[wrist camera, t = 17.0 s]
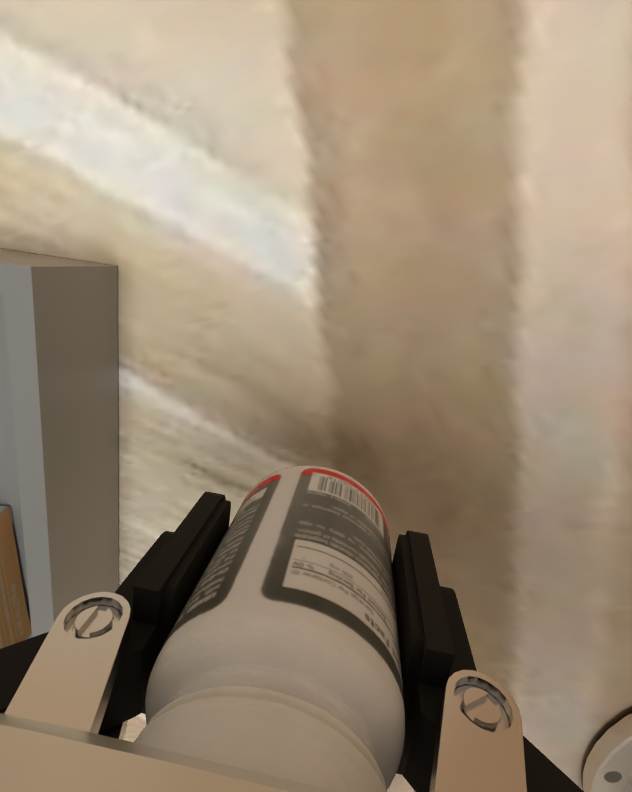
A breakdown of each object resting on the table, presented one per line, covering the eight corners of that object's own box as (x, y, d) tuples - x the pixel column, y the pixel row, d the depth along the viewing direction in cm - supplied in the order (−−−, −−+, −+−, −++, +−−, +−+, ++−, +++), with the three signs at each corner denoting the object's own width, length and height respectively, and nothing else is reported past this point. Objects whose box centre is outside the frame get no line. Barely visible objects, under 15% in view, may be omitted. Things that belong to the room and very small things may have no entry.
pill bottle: (263, 602, 14) (127, 1017, 6) (221, 476, 13) (-9, 783, 5) (404, 583, 13) (455, 1038, 5) (371, 447, 12) (375, 763, 4)
